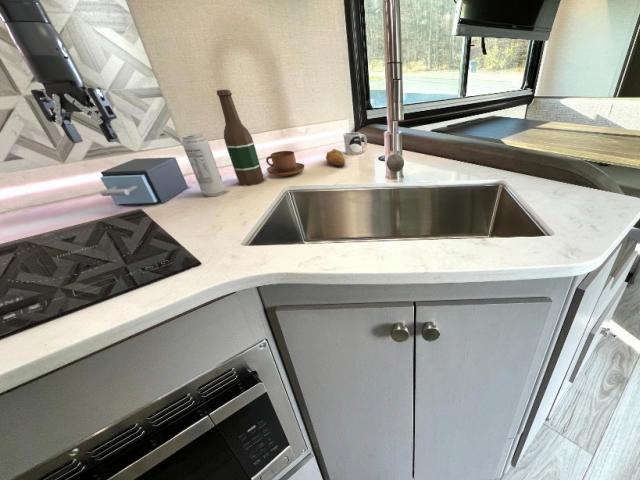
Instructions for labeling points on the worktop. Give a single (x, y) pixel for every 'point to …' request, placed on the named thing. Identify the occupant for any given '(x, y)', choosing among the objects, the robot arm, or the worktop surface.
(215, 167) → the energy drink can
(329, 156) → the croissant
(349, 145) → the mug
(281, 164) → the cup and saucer
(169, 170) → the blue drawer box
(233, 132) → the beer bottle
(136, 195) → the light blue drawer
